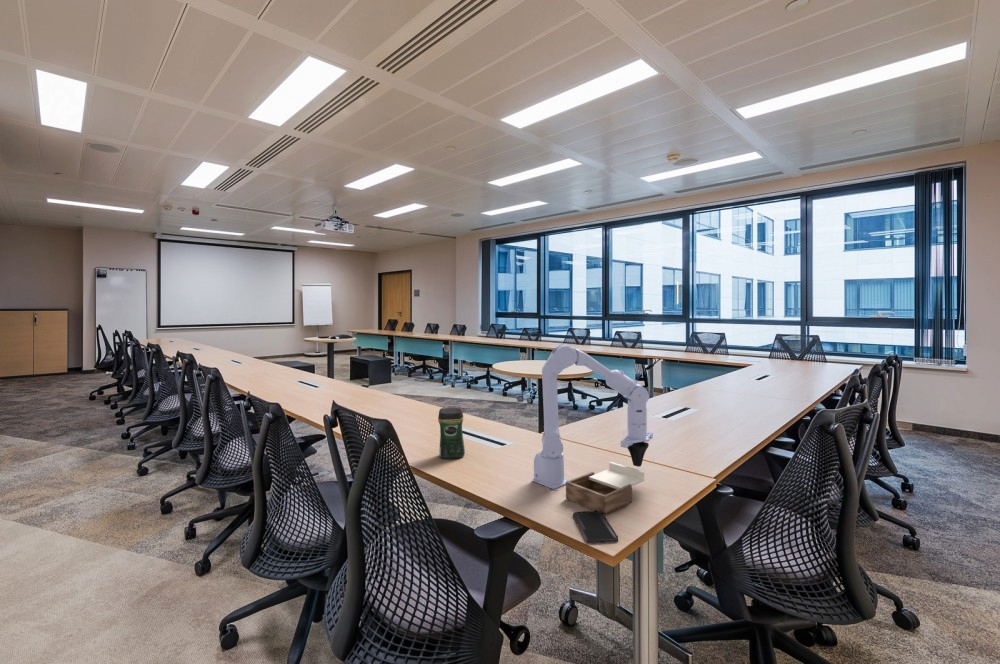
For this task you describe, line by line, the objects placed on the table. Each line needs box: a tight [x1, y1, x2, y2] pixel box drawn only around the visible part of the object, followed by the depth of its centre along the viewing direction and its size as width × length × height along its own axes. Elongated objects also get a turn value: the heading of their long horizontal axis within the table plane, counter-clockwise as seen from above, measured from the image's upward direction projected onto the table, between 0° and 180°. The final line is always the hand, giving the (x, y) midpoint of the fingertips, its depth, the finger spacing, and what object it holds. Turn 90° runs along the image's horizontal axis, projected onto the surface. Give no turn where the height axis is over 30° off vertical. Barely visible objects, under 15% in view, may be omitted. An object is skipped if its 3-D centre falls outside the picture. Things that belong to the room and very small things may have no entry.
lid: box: [589, 461, 645, 489], centre depth 132 cm, size 12×11×3 cm
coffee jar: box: [437, 407, 466, 460], centre depth 169 cm, size 10×8×19 cm
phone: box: [572, 510, 619, 545], centre depth 111 cm, size 8×1×15 cm
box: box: [565, 471, 633, 516], centre depth 127 cm, size 14×12×5 cm
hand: (637, 465), depth 139 cm, fingers closed
